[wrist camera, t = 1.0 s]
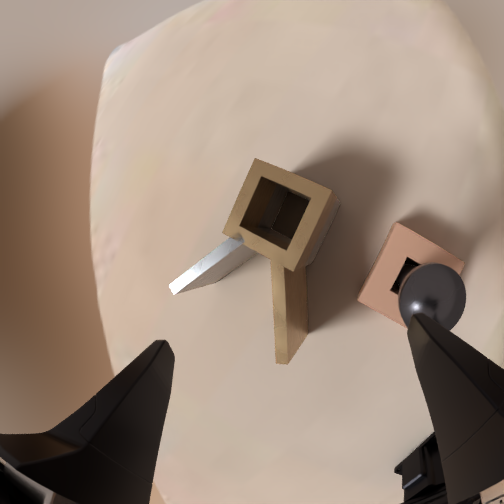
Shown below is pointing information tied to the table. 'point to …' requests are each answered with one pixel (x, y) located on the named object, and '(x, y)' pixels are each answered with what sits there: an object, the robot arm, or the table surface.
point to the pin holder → (399, 268)
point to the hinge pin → (431, 293)
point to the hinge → (271, 247)
